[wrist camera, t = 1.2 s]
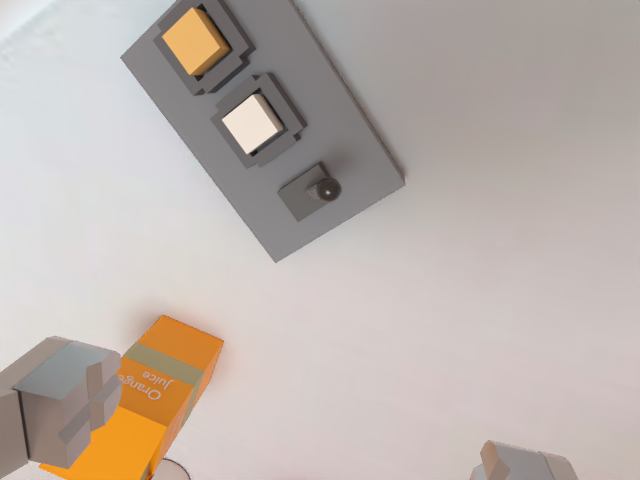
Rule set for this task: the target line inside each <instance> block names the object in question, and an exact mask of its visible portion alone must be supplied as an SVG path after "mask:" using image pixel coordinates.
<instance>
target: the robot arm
mask: <svg viewBox="0 0 640 480" xmlns="http://www.w3.org/2000/svg"><path fill="white" fill-rule="evenodd" d="M120 367H121V356H120V354H119V353H117V352H116V351H112V350H109V349H105V348H101V347H97V346H94V345H90V344H86V343H82V342H79V341H73V340H69V339H65V338H62V337H58V336H52V337H48V338H46V339H45V340H43V341H42V342H41V343H39V344H38V345H37V346H35V347H34V348H33V349H31V350H30V351H29V352H27V353H26V354H25V355H23V356H22V357H21V358H19V359H18V360H16V361H15V362H14V363H12V364H11V365H10V366H8V367H7V368H6V369H4V370H3V371H2V372H0V479H1V478H3V477H5V476H6V475H8V474H10V473H12V472H13V471H15V470H17V469H18V468H20V467H22V466H24V465H25V464H27V463H28V460H30V461H34V462H39V463H43V464H47V465H52V466H56V467H60V468H65V469H69V468H70V467H71V466H72V465H73V463H74V462H75V461H76V460H77V458H78V457H79V456H80V455H81V454H82V452H83V451H84V450H85V449H86V448H87V446H88V445H89V444H90V443H91V432H92V431H94V430H96V429H98V428H100V427H102V426H105V425H106V423H107V422H108V421H109V419H110V418H111V417H112V416H113V414H114V412H115V410H116V408H117V406H118V404H119V402H120V398H121V393H122V382H121V380H120V379H119V377H118V376H117V375H116V372H117V371H118V370H119V368H120ZM480 454H481V458H482V462H483V463H482V464H481V465H479V466H477V467H475V468H474V469H473V472H472V474H471V477H470V480H579V479H578V478H577V476H576V474H575V472H574V470H573V468H572V466H571V464H570V462H569V461H568V460H567V459H566V458H565V457H562V456H557V455H553V454H548V453H544V452H540V451H539V452H537V451H534V450H530V449H525V448H521V447H517V446H512V445H508V444H504V443H499V442H495V441H491V440H488V441H487V442H486V443H485V444H484V446H483V448H482V450H481V453H480Z"/></svg>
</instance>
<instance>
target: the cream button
mask: <svg viewBox="0 0 640 480" xmlns="http://www.w3.org/2000/svg"><path fill="white" fill-rule="evenodd" d="M222 121H223V122H224V124H225V125H226V126H227V128H228V129H229V130H230V132H231V133H232V135H233V136H234V137H235V139H236V140H237V142H238V143H239V144H240V146H241V147H242V148H243V150H244V151H245V153H246V154H249V153H250V152H252V151H254V150H256V149H257V148H259V147H260V146H261V145H263V144H264V143H265V142H267V141H268V140H269V139H271V138H272V137H273V136H275V135H276V134H277V133H279V132H280V131H281V130H283V129H284V128H285V127H284V126H283V125H282V123H281V122H280V120H279V119H278V117H277V116H276V114H275V113H274V111H273V110H272V109H271V107H270V106H269V104H268V103H267V101H266V100H265V98H264V97H263V95H262V94H254V95H252V96H250V97H249V98H248V99H247V100H245V101H244V102H243V103H242V104H240V105H239V106H238V107H237V108H235V109H234V110H233V111H232V112H231V113H229V114H228V115H227V116H226V117H224V118H223V119H222Z"/></svg>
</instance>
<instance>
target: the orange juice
mask: <svg viewBox="0 0 640 480" xmlns="http://www.w3.org/2000/svg"><path fill="white" fill-rule="evenodd" d="M223 342H224V341H223V340H220V339H218V338H216V337H214V336H211V335H209V334H207V333H204V332H202V331H200V330H197V329H195V328H193V327H190V326H188V325H186V324H183V323H181V322H179V321H177V320H174V319H172V318H170V317H167V316H165V315H163V316H162V317H161V318H160V319H159V320H158V321H157V322H156V323H155V324H154V325H153V326H152V327H151V328H150V329H149V330H148V331H147V332H146V333H145V334H144V335H143V336H142V337H141V338H140V339H139V340H138V341H137V342H136V343H135V344H134V345H133V346H132V347H131V348H130V349H129V350H128V351H127V352H126V353H125V354H124V355H123V357H122V358H121V367H120V368H119V370H118V371H117V372H116V375H117V376H118V377H119V379H120V380H121V382H122V393H121V398H120V402H119V404H118V406H117V408H116V410H115V412H114V414H113V416H112V417H111V418H110V419H109V421H108V422H107V423H106V425H105V426H102V427H100V428H98V429H96V430H94V431H92V432H91V443H90V444H89V445H88V446H87V448H86V449H85V450H84V451H83V452H82V454H81V455H80V456H79V457H78V458H77V460H76V461H75V462H74V463H73V465H72V466H71V467H70V468H69V469H65V468H60V467H56V466H52V465H47V464H43V463H41V464H40V466H39V468H41V469H43V470H46V471H48V472H50V473H52V474H55V475H57V476H59V477H62V478H64V479H66V480H148V479H149V478H150V477H151V476H152V475H153V474H154V472H155V470H156V469H157V467H158V465H159V464H160V462H161V461H162V459H163V457H164V456H165V454H166V452H167V451H168V449H169V447H170V446H171V444H172V442H173V441H174V439H175V438H176V436H177V434H178V433H179V431H180V430H181V428H182V427H183V425H184V424H185V422H186V420H187V419H188V417H189V415H190V413H191V411H192V410H193V408H194V406H195V405H196V403H197V401H198V400H199V398H200V397H201V395H202V393H203V392H204V390H205V388H206V387H207V385H208V383H209V382H210V379H211V377H212V374H213V371H214V368H215V365H216V362H217V359H218V357H219V354H220V351H221V348H222V345H223Z"/></svg>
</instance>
